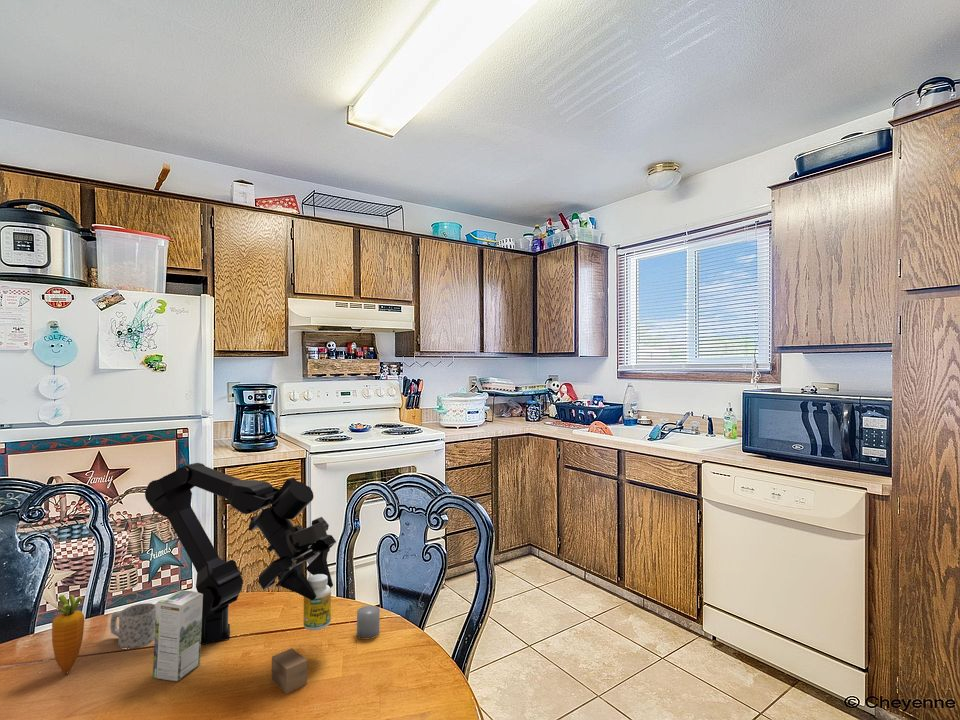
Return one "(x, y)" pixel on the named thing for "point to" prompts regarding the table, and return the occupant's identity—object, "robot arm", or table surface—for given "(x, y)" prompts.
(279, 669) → the walnut block
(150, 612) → the mug
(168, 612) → the syrup box
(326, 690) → the table surface
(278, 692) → the table surface
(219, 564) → the robot arm
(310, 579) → the supplement bottle
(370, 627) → the gray capsule
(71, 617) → the carrot
